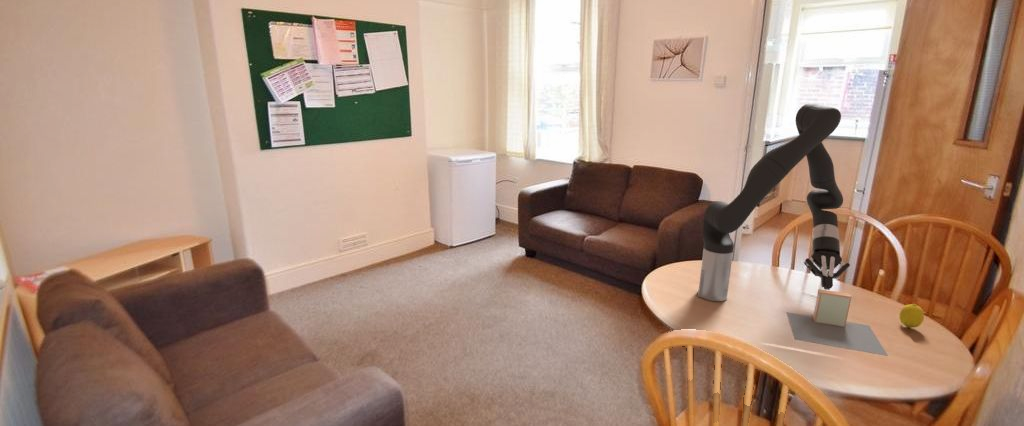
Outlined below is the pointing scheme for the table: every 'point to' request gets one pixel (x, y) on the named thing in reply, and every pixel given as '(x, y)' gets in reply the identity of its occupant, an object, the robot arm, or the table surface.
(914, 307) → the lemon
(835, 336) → the mat
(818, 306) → the tile
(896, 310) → the table surface
